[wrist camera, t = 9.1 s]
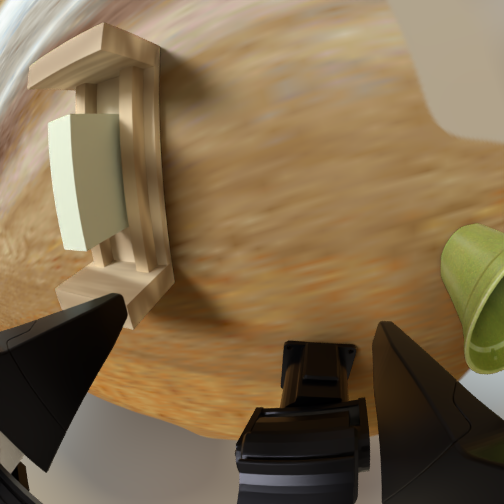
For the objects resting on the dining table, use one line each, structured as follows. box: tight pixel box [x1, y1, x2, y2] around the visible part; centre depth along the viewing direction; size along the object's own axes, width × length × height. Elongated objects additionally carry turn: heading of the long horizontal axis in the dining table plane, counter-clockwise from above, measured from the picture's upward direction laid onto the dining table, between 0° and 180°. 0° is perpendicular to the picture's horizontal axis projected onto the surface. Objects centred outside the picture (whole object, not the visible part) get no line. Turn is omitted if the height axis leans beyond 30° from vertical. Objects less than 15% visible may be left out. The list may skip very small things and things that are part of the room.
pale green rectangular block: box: [48, 114, 129, 251], centre depth 17 cm, size 9×3×6 cm, turn 2°
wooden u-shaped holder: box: [27, 22, 175, 330], centre depth 17 cm, size 20×8×7 cm, turn 1°
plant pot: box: [441, 223, 504, 374], centre depth 13 cm, size 9×9×9 cm
